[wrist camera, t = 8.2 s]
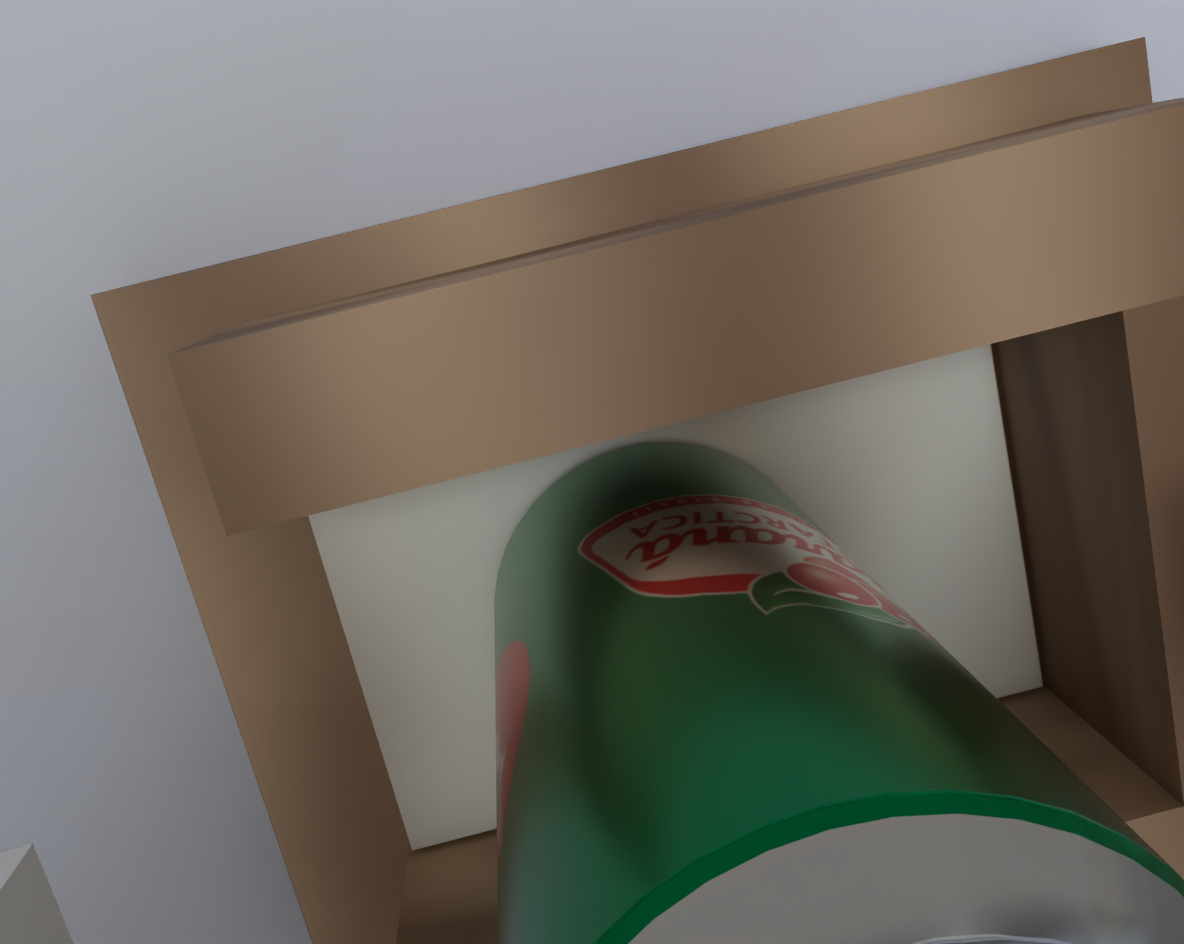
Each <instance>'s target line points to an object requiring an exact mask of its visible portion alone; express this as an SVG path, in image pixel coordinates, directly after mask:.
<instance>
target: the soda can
mask: <svg viewBox="0 0 1184 944" xmlns="http://www.w3.org/2000/svg"><path fill="white" fill-rule="evenodd" d="M494 624H495V719H496V814H497V908H498V944H1184V879H1183V878H1182V877H1181V876H1180V875H1179V874H1178V873H1177V872H1176V871H1175V870H1174V869H1173V868H1172V867H1171V866H1170V865H1169V864H1168V863H1167V862H1166V861H1165V860H1164V859H1163V858H1162V857H1161V856H1160V855H1159V854H1158V853H1156V852H1155V851H1154V850H1153V849H1152V848H1151V847H1150V846H1149V845H1148V844H1147V843H1146V842H1145V841H1144V840H1143V839H1142V838H1141V837H1140V836H1139V835H1138V834H1137V833H1136V832H1135V831H1134V830H1133V829H1132V828H1131V827H1130V826H1128V825H1127V824H1126V823H1125V822H1124V821H1123V820H1122V819H1121V818H1120V817H1119V816H1118V815H1117V814H1116V813H1115V812H1114V811H1113V810H1112V809H1111V808H1110V807H1109V806H1108V805H1107V804H1106V803H1105V802H1104V801H1103V800H1102V799H1100V798H1099V797H1098V796H1097V795H1096V794H1095V793H1094V792H1093V791H1092V790H1091V789H1090V788H1089V787H1088V786H1087V785H1086V784H1085V783H1084V782H1083V781H1082V780H1081V779H1080V778H1079V777H1078V776H1077V775H1076V774H1075V773H1074V772H1072V771H1071V770H1070V769H1069V768H1068V767H1067V766H1066V765H1065V764H1064V763H1063V762H1062V761H1061V760H1060V759H1059V758H1058V757H1057V756H1056V755H1055V754H1054V753H1053V752H1052V751H1051V750H1050V749H1049V748H1048V747H1047V746H1046V745H1044V744H1043V743H1042V742H1041V741H1040V740H1039V739H1038V738H1037V737H1036V736H1035V735H1034V734H1033V733H1032V732H1031V731H1030V730H1029V729H1028V728H1027V727H1026V726H1025V725H1024V724H1023V723H1022V722H1021V721H1020V720H1019V719H1018V718H1016V717H1015V716H1014V715H1013V714H1012V713H1011V712H1010V711H1009V710H1008V709H1007V708H1006V707H1005V706H1004V705H1003V704H1002V703H1001V702H1000V701H999V700H998V699H997V698H996V697H995V696H994V695H993V694H992V693H991V692H990V691H988V690H987V689H986V688H985V687H984V686H983V685H982V684H981V683H980V682H979V681H978V680H977V679H976V678H975V677H974V676H973V675H972V674H971V673H970V672H969V671H968V670H967V669H966V668H965V667H964V666H963V665H962V664H960V663H959V662H958V661H957V660H956V659H955V658H954V657H953V656H952V655H951V654H950V653H949V652H948V651H947V650H946V649H945V648H944V647H943V646H942V645H941V644H940V643H939V642H938V641H937V640H936V639H935V638H934V637H932V636H931V635H930V634H929V633H928V632H927V631H926V630H925V629H924V628H923V627H922V626H921V625H920V624H919V623H918V622H917V621H916V620H915V619H914V618H913V617H912V616H911V615H910V614H909V613H908V612H907V611H906V610H904V609H903V608H902V607H901V606H900V605H899V604H898V603H897V602H896V601H895V600H894V599H893V598H892V597H891V596H890V595H889V594H888V593H887V592H886V591H885V590H884V589H883V588H882V587H881V586H880V585H879V584H878V583H877V582H875V581H874V580H873V579H872V578H871V577H870V576H869V575H868V574H867V573H866V572H865V571H864V570H863V569H862V568H861V567H860V566H859V565H858V564H857V563H856V562H855V561H854V560H853V559H852V558H851V557H850V556H849V555H847V554H846V553H845V552H844V551H843V550H842V549H841V548H840V547H839V546H838V545H837V544H836V543H835V542H834V541H833V540H832V539H831V538H830V537H829V536H828V535H827V534H826V533H825V532H824V531H823V530H822V529H821V528H819V527H818V526H817V525H816V524H815V523H814V522H813V521H812V520H811V519H810V518H809V517H808V516H807V515H806V514H805V513H804V512H803V511H802V510H801V509H800V508H799V507H798V506H797V505H796V504H795V503H794V502H793V501H791V500H790V499H789V498H788V497H787V496H786V495H785V494H784V493H783V492H782V491H781V490H780V489H779V488H778V487H777V486H776V485H775V484H774V483H773V482H772V481H771V480H770V479H768V478H767V477H765V476H764V475H763V474H761V473H760V472H758V471H757V470H756V469H754V468H753V467H751V466H750V465H748V464H746V463H744V462H742V461H740V460H738V459H736V458H734V457H732V456H730V455H728V454H726V453H722V452H719V451H716V450H712V449H709V448H706V447H702V446H696V445H689V444H682V443H647V444H641V445H635V446H630V447H624V448H620V449H617V450H614V451H611V452H609V453H606V454H603V455H600V456H597V457H595V458H593V459H591V460H589V461H587V462H585V463H583V464H581V465H580V466H578V467H576V468H574V469H572V470H571V471H569V472H568V473H567V474H565V475H564V476H563V477H561V478H560V479H559V480H557V481H556V482H555V483H553V484H552V485H551V486H550V487H549V488H548V489H547V490H546V491H545V492H544V493H543V494H542V495H541V496H540V497H539V498H538V499H537V500H536V501H535V502H534V503H533V504H532V505H531V507H530V508H529V509H528V511H527V512H526V514H525V515H524V516H523V518H522V519H521V520H520V522H519V523H518V525H517V526H516V528H515V530H514V532H513V534H512V536H511V538H510V540H509V542H508V544H507V546H506V548H505V551H504V555H503V558H502V561H501V564H500V567H499V570H498V575H497V582H496V589H495V596H494Z"/></svg>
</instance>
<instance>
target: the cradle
mask: <svg viewBox="0 0 1184 944" xmlns="http://www.w3.org/2000/svg"><path fill="white" fill-rule="evenodd" d="M91 298H92V301H93V304H94V307H95V309H96V312H97V315H98V318H99V321H100V324H101V327H102V330H103V333H104V336H105V339H106V342H107V344H108V347H109V350H110V353H111V356H112V359H113V362H114V365H115V368H116V371H117V374H118V377H119V380H120V382H121V385H122V388H123V391H124V394H125V397H126V400H127V403H128V406H129V409H130V412H131V415H132V417H133V420H134V423H135V426H136V429H137V432H138V435H139V438H140V441H141V444H142V447H143V450H144V452H145V455H146V458H147V461H148V464H149V467H150V470H151V473H152V476H153V479H154V482H155V485H156V488H157V490H158V493H159V496H160V499H161V502H162V505H163V508H164V511H165V514H166V517H167V520H168V523H169V525H170V528H171V531H172V534H173V537H174V540H175V543H176V546H177V549H178V552H179V555H180V558H181V561H182V563H183V566H184V569H185V572H186V575H187V578H188V581H189V584H190V587H191V590H192V593H193V596H194V598H195V601H196V604H197V607H198V610H199V613H200V616H201V619H202V622H203V625H204V628H205V631H206V633H207V636H208V639H209V642H210V645H211V648H212V651H213V654H214V657H215V660H216V663H217V666H218V669H219V671H220V674H221V677H222V680H223V683H224V686H225V689H226V692H227V695H228V698H229V701H230V704H231V706H232V709H233V712H234V715H235V718H236V721H237V724H238V727H239V730H240V733H241V736H242V739H243V741H244V744H245V747H246V750H247V753H248V756H249V759H250V762H251V765H252V768H253V771H254V774H255V777H256V779H257V782H258V785H259V788H260V791H261V794H262V797H263V800H264V803H265V806H266V809H267V812H268V814H269V817H270V820H271V823H272V826H273V829H274V832H275V835H276V838H277V841H278V844H279V847H280V850H281V852H282V855H283V858H284V861H285V864H286V867H287V870H288V873H289V876H290V879H291V882H292V885H293V887H294V890H295V893H296V896H297V899H298V902H299V905H300V908H301V911H302V914H303V917H304V920H305V922H306V925H307V928H308V931H309V934H310V937H311V940H312V943H313V944H498V908H497V814H496V719H495V624H494V596H495V589H496V582H497V575H498V570H499V567H500V564H501V561H502V558H503V555H504V551H505V548H506V546H507V544H508V542H509V540H510V538H511V536H512V534H513V532H514V530H515V528H516V526H517V525H518V523H519V522H520V520H521V519H522V518H523V516H524V515H525V514H526V512H527V511H528V509H529V508H530V507H531V505H532V504H533V503H534V502H535V501H536V500H537V499H538V498H539V497H540V496H541V495H542V494H543V493H544V492H545V491H546V490H547V489H548V488H549V487H550V486H551V485H552V484H553V483H555V482H556V481H557V480H559V479H560V478H561V477H563V476H564V475H565V474H567V473H568V472H569V471H571V470H572V469H574V468H576V467H578V466H580V465H581V464H583V463H585V462H587V461H589V460H591V459H593V458H595V457H597V456H600V455H603V454H606V453H609V452H611V451H614V450H617V449H620V448H624V447H630V446H635V445H641V444H647V443H682V444H689V445H696V446H702V447H706V448H709V449H712V450H716V451H719V452H722V453H726V454H728V455H730V456H732V457H734V458H736V459H738V460H740V461H742V462H744V463H746V464H748V465H750V466H751V467H753V468H754V469H756V470H757V471H758V472H760V473H761V474H763V475H764V476H765V477H767V478H768V479H770V480H771V481H772V482H773V483H774V484H775V485H776V486H777V487H778V488H779V489H780V490H781V491H782V492H783V493H784V494H785V495H786V496H787V497H788V498H789V499H790V500H791V501H793V502H794V503H795V504H796V505H797V506H798V507H799V508H800V509H801V510H802V511H803V512H804V513H805V514H806V515H807V516H808V517H809V518H810V519H811V520H812V521H813V522H814V523H815V524H816V525H817V526H818V527H819V528H821V529H822V530H823V531H824V532H825V533H826V534H827V535H828V536H829V537H830V538H831V539H832V540H833V541H834V542H835V543H836V544H837V545H838V546H839V547H840V548H841V549H842V550H843V551H844V552H845V553H846V554H847V555H849V556H850V557H851V558H852V559H853V560H854V561H855V562H856V563H857V564H858V565H859V566H860V567H861V568H862V569H863V570H864V571H865V572H866V573H867V574H868V575H869V576H870V577H871V578H872V579H873V580H874V581H875V582H877V583H878V584H879V585H880V586H881V587H882V588H883V589H884V590H885V591H886V592H887V593H888V594H889V595H890V596H891V597H892V598H893V599H894V600H895V601H896V602H897V603H898V604H899V605H900V606H901V607H902V608H903V609H904V610H906V611H907V612H908V613H909V614H910V615H911V616H912V617H913V618H914V619H915V620H916V621H917V622H918V623H919V624H920V625H921V626H922V627H923V628H924V629H925V630H926V631H927V632H928V633H929V634H930V635H931V636H932V637H934V638H935V639H936V640H937V641H938V642H939V643H940V644H941V645H942V646H943V647H944V648H945V649H946V650H947V651H948V652H949V653H950V654H951V655H952V656H953V657H954V658H955V659H956V660H957V661H958V662H959V663H960V664H962V665H963V666H964V667H965V668H966V669H967V670H968V671H969V672H970V673H971V674H972V675H973V676H974V677H975V678H976V679H977V680H978V681H979V682H980V683H981V684H982V685H983V686H984V687H985V688H986V689H987V690H988V691H990V692H991V693H992V694H993V695H994V696H995V697H996V698H997V699H998V700H999V701H1000V702H1001V703H1002V704H1003V705H1004V706H1005V707H1006V708H1007V709H1008V710H1009V711H1010V712H1011V713H1012V714H1013V715H1014V716H1015V717H1016V718H1018V719H1019V720H1020V721H1021V722H1022V723H1023V724H1024V725H1025V726H1026V727H1027V728H1028V729H1029V730H1030V731H1031V732H1032V733H1033V734H1034V735H1035V736H1036V737H1037V738H1038V739H1039V740H1040V741H1041V742H1042V743H1043V744H1044V745H1046V746H1047V747H1048V748H1049V749H1050V750H1051V751H1052V752H1053V753H1054V754H1055V755H1056V756H1057V757H1058V758H1059V759H1060V760H1061V761H1062V762H1063V763H1064V764H1065V765H1066V766H1067V767H1068V768H1069V769H1070V770H1071V771H1072V772H1074V773H1075V774H1076V775H1077V776H1078V777H1079V778H1080V779H1081V780H1082V781H1083V782H1084V783H1085V784H1086V785H1087V786H1088V787H1089V788H1090V789H1091V790H1092V791H1093V792H1094V793H1095V794H1096V795H1097V796H1098V797H1099V798H1100V799H1102V800H1103V801H1104V802H1105V803H1106V804H1107V805H1108V806H1109V807H1110V808H1111V809H1112V810H1113V811H1114V812H1115V813H1116V814H1117V815H1118V816H1119V817H1120V818H1121V819H1122V820H1123V821H1124V822H1125V823H1126V824H1127V825H1128V826H1130V827H1131V828H1132V829H1133V830H1134V831H1135V832H1136V833H1137V834H1138V835H1139V836H1140V837H1141V838H1142V839H1143V840H1144V841H1145V842H1146V843H1147V844H1148V845H1149V846H1150V847H1151V848H1152V849H1153V850H1154V851H1155V852H1156V853H1158V854H1159V855H1160V856H1161V857H1162V858H1163V859H1164V860H1165V861H1166V862H1167V863H1168V864H1169V865H1170V866H1171V867H1172V868H1173V869H1174V870H1175V871H1176V872H1177V873H1178V874H1179V875H1180V876H1181V877H1182V878H1183V879H1184V98H1179V99H1174V100H1168V101H1162V102H1156V103H1152V96H1151V87H1150V78H1149V69H1148V61H1147V52H1146V43H1145V37H1142V38H1138V39H1134V40H1130V41H1126V42H1122V43H1118V44H1114V45H1110V46H1106V47H1102V48H1097V49H1093V50H1089V51H1085V52H1081V53H1077V54H1073V55H1069V56H1065V57H1061V58H1057V59H1053V60H1048V61H1044V62H1040V63H1036V64H1032V65H1028V66H1024V67H1020V68H1016V69H1012V70H1008V71H1004V72H1000V73H995V74H991V75H987V76H983V77H979V78H975V79H971V80H967V81H963V82H959V83H955V84H951V85H946V86H942V87H938V88H934V89H930V90H926V91H922V92H918V93H914V94H910V95H906V96H902V97H897V98H893V99H889V100H885V101H881V102H877V103H873V104H869V105H865V106H861V107H857V108H853V109H848V110H844V111H840V112H836V113H832V114H828V115H824V116H820V117H816V118H812V119H808V120H804V121H800V122H795V123H791V124H787V125H783V126H779V127H775V128H771V129H767V130H763V131H759V132H755V133H751V134H746V135H742V136H738V137H734V138H730V139H726V140H722V141H718V142H714V143H710V144H706V145H702V146H697V147H693V148H689V149H685V150H681V151H677V152H673V153H669V154H665V155H661V156H657V157H653V158H648V159H644V160H640V161H636V162H632V163H628V164H624V165H620V166H616V167H612V168H608V169H604V170H600V171H595V172H591V173H587V174H583V175H579V176H575V177H571V178H567V179H563V180H559V181H555V182H551V183H546V184H542V185H538V186H534V187H530V188H526V189H522V190H518V191H514V192H510V193H506V194H502V195H497V196H493V197H489V198H485V199H481V200H477V201H473V202H469V203H465V204H461V205H457V206H453V207H448V208H444V209H440V210H436V211H432V212H428V213H424V214H420V215H416V216H412V217H408V218H404V219H400V220H395V221H391V222H387V223H383V224H379V225H375V226H371V227H367V228H363V229H359V230H355V231H351V232H346V233H342V234H338V235H334V236H330V237H326V238H322V239H318V240H314V241H310V242H306V243H302V244H297V245H293V246H289V247H285V248H281V249H277V250H273V251H269V252H265V253H261V254H257V255H253V256H249V257H244V258H240V259H236V260H232V261H228V262H224V263H220V264H216V265H212V266H208V267H204V268H200V269H195V270H191V271H187V272H183V273H179V274H175V275H171V276H167V277H163V278H159V279H155V280H151V281H146V282H142V283H138V284H134V285H130V286H126V287H122V288H118V289H114V290H110V291H106V292H102V293H97V294H93V295H91Z"/></svg>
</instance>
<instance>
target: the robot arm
mask: <svg viewBox="0 0 1184 944" xmlns="http://www.w3.org/2000/svg"><path fill="white" fill-rule="evenodd" d="M0 944H73V942H72V939H71V937H70V934H69V932H68V929H67V927H66V925H65V922H64V920H63V917H62V915H61V912H60V910H59V907H58V905H57V902H56V900H55V897H54V895H53V892H52V890H51V888H50V885H49V883H48V880H47V878H46V875H45V873H44V870H43V868H42V865H41V863H40V860H39V858H38V855H37V853H36V851H35V848H34V846H33V844H29V845H25V846H22V847H18V848H14V849H10V850H7V851H3V852H0Z"/></svg>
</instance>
